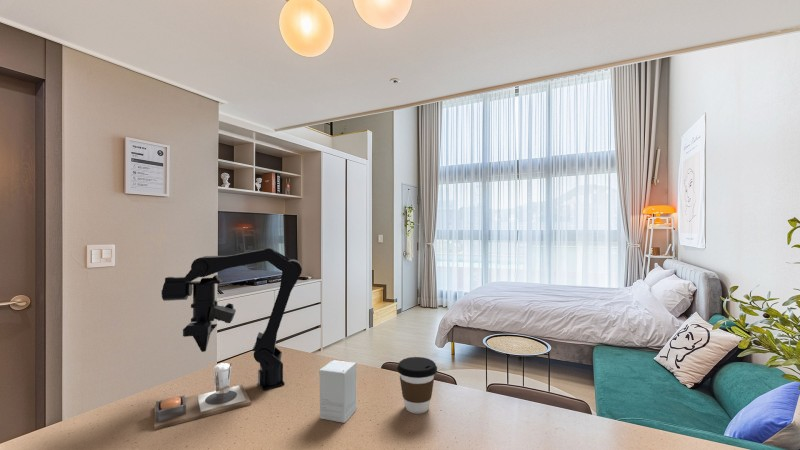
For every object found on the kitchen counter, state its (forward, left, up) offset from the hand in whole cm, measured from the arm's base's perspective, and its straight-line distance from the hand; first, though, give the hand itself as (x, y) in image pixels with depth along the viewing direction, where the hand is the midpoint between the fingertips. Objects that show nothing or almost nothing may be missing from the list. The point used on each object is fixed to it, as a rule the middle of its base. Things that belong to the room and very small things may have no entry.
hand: (203, 351), depth 106 cm
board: (+1, +10, -12) cm, 15 cm away
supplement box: (-28, +34, -12) cm, 46 cm away
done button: (+8, +11, -11) cm, 18 cm away
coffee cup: (-47, +43, -12) cm, 65 cm away
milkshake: (-4, +9, -11) cm, 15 cm away
